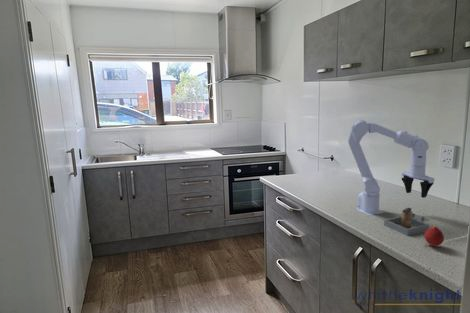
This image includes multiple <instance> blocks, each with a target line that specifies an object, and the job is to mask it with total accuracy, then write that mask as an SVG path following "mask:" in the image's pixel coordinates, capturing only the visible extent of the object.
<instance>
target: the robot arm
mask: <svg viewBox="0 0 470 313" xmlns="http://www.w3.org/2000/svg"><path fill="white" fill-rule="evenodd" d="M368 133H369V134H373V133H377V134H380V135H382V136H385V137H388V138H391V139H393V141H394V143H395V144H398V145H400V146H403V147H405V148H408V149H411V154H410V168H409V169H410V171H409V172H408V171H401V181H402V182H403V185H404V188H405V192H406V194H411V193H412V190H413V189H412V186H413V182H414V180H419V181H420V182H419V183H420V191H421V193H420V196H421V198H427V195H428V193H429V191H430V189H431V188H432V186H433V185H434V183H435V177H432V176H428V175H427V174H426V168H427V166H426V165H427V151H428V149H429V148H430V145H429V143H428V142H427V140H425V139H424V138H421V137H419V136H418V135H413V134H411V133H408V131H407V130H399V131H394V130H392V129H390V128H387V127H386V126H385V127H384V126H383V125H380V124H377V123H375V122H371V121H365V120H364V119H358V120H357V121H355V122H354V124H353V125H352V127H351V129H350V133H349V136H348V142H347V143H348V145H349V147H350V148H349V149H350V151H351V152H352V155H353V157H354V158H353V159H354V160H355V163H356V166H357V168H358V171H359V172H360V175H361V178H362V181H363V186H364V190H363V191H361V192H359V194H358V196H357V208H356V210H357V211H359V212H362V213H365V214H366V215H369V216H373V215H378V214H384V212H383V211H382V210H380V197H381V194H380V191H381V188H380V186H379V183H378V181H377V179H375V178H374V176H373V173H372V171H371V169H370V166H369V163H368V161H367V159H366V156H365V154H364V150H363V149H362V146H361V143H360V142H361V140H362V139H363V137H364V136H366V134H368Z"/></svg>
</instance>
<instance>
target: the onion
mask: <svg viewBox="0 0 470 313" xmlns="http://www.w3.org/2000/svg"><path fill="white" fill-rule="evenodd" d="M423 235H424V239H425V241H426V243H428V244H429V245H430V246H431V247H433V248H434V247H438V246H440V245H441V244H443V243H444V240H445V237H444V234H443V232H442V231H441V229H439V228H438V227H437V226H436V225H432V226H431V227H430V228H429V227H428V230H427V231H425V232H424V234H423Z"/></svg>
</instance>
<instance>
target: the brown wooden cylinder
mask: <svg viewBox="0 0 470 313" xmlns="http://www.w3.org/2000/svg"><path fill="white" fill-rule="evenodd" d="M412 213H413V211H412V208H411V207H407V208H404V209H402V210H401V216H402V219H401V224H400V226H402V227H404V228H407V229H409V228H412V225H411V221H412Z"/></svg>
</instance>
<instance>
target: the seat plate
mask: <svg viewBox="0 0 470 313" xmlns="http://www.w3.org/2000/svg"><path fill="white" fill-rule="evenodd" d="M400 216H401V215H398V216H397V217H400ZM412 219H415V220H417V221H420V222H423V223H425V222H429V221H431V219H429V218H426V217H425V216H421V215H418V214H416V213H415V212H412Z"/></svg>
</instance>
